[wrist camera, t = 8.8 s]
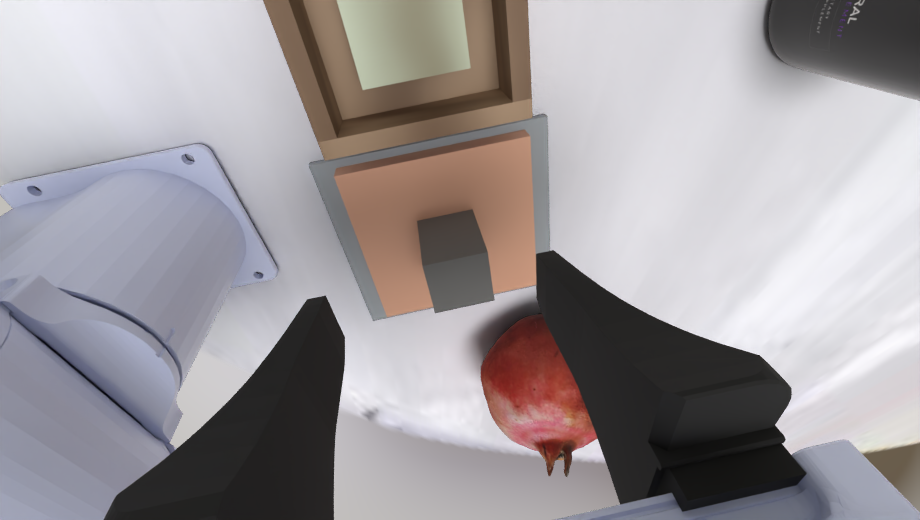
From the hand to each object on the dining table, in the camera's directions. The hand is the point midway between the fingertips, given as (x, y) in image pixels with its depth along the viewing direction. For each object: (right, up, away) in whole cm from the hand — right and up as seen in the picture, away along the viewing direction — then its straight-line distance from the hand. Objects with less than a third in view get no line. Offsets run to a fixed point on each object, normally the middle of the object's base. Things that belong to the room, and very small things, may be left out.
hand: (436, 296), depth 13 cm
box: (-2, +12, +3) cm, 12 cm away
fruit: (+6, -5, +17) cm, 18 cm away
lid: (0, +3, +9) cm, 10 cm away
